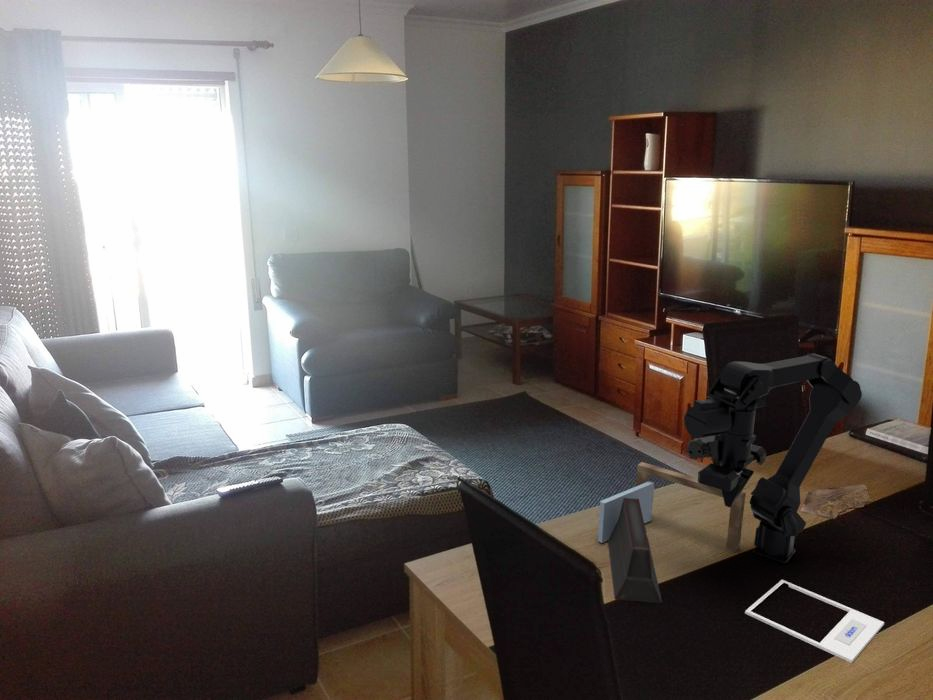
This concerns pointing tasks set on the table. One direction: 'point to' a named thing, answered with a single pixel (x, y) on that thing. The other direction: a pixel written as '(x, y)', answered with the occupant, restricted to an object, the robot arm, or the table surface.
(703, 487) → the door frame
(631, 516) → the barrier
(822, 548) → the table surface
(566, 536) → the table surface
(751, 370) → the robot arm
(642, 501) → the door
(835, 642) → the photo frame
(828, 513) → the wooden fragment
